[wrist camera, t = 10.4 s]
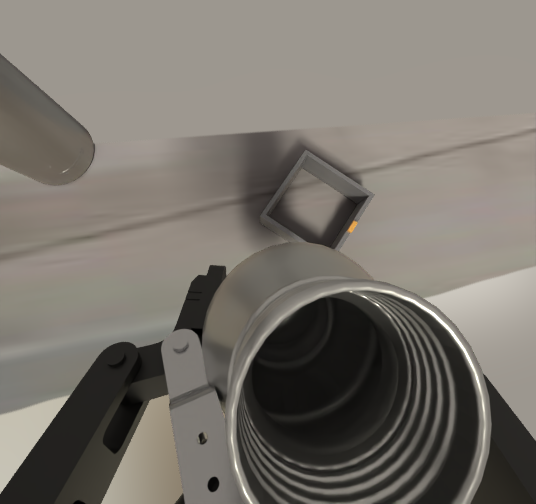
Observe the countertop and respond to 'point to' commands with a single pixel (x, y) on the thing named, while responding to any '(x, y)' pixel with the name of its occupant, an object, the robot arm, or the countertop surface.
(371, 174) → the countertop surface
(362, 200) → the socket collar
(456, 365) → the silver metal bottle
